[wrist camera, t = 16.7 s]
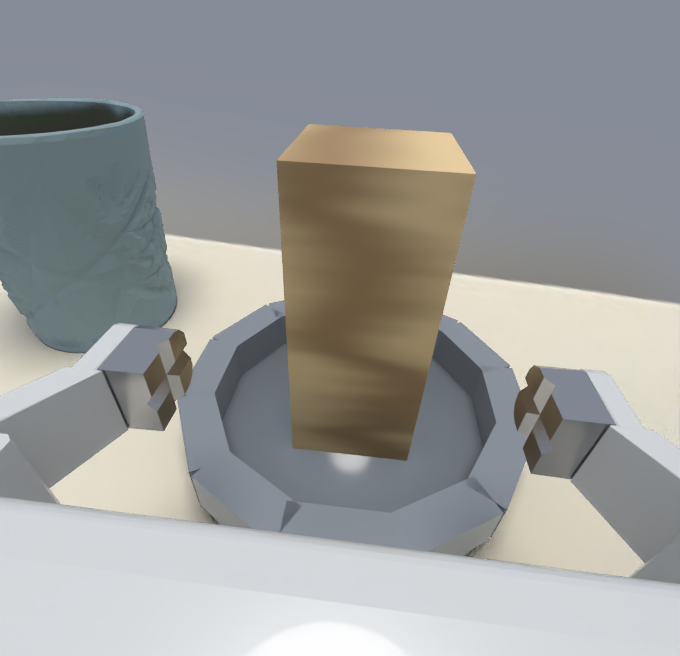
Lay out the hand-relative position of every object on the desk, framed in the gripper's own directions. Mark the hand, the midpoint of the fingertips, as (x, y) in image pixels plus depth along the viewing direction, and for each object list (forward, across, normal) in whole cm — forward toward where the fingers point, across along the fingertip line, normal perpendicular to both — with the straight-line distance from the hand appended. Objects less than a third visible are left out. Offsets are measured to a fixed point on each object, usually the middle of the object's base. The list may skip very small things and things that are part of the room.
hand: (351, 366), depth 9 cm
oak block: (+6, 0, +8) cm, 10 cm away
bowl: (+6, 0, +9) cm, 11 cm away
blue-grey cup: (+13, +17, +10) cm, 23 cm away
